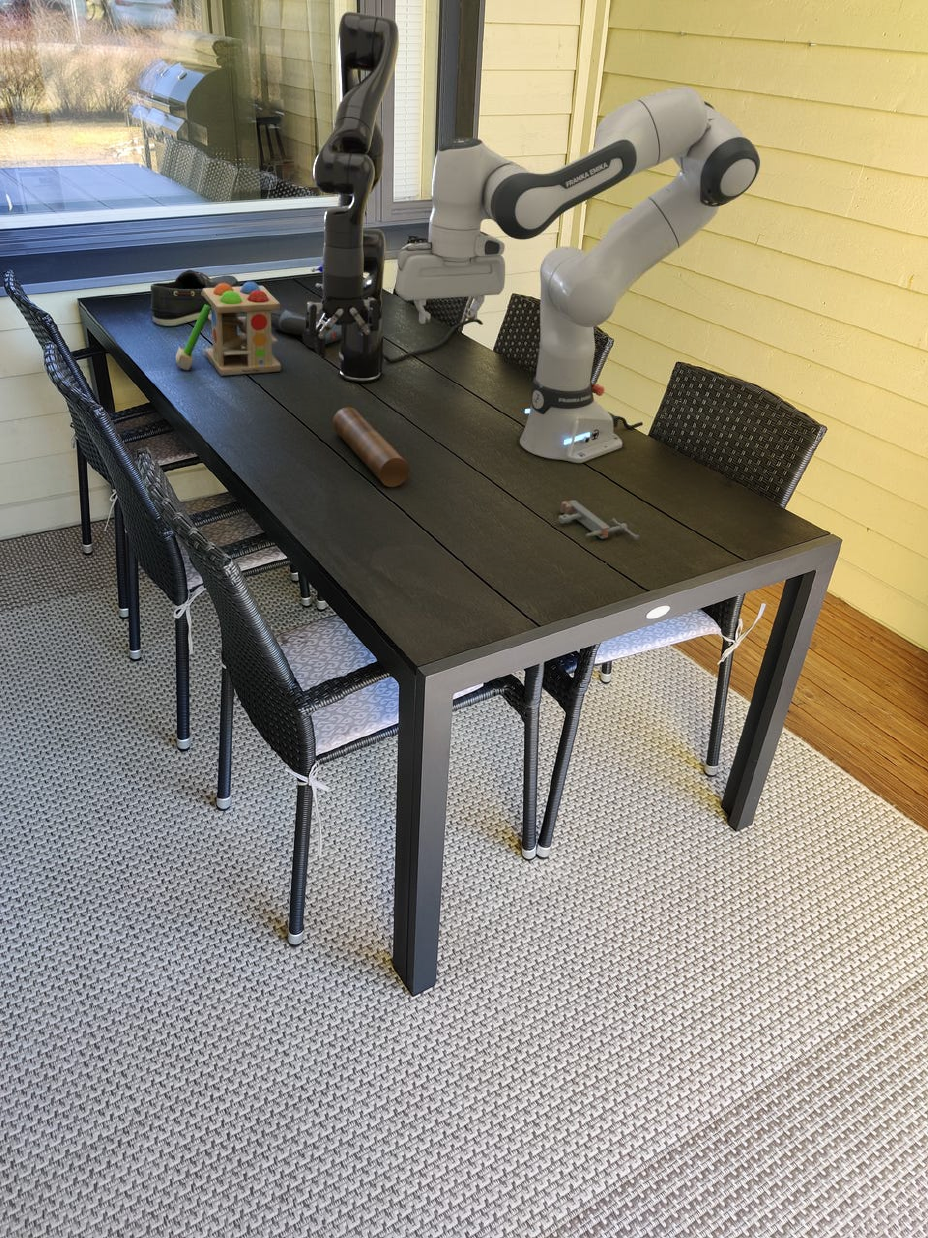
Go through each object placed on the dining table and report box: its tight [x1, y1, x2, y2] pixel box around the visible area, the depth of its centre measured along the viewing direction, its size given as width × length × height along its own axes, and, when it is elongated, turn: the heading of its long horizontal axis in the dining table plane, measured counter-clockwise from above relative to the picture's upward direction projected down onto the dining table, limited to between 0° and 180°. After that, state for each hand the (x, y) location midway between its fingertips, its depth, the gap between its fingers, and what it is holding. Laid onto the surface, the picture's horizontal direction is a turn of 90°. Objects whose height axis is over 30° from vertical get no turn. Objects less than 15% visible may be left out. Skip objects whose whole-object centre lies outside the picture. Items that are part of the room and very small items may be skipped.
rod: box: [332, 406, 410, 488], centre depth 193 cm, size 25×6×6 cm, turn 27°
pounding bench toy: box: [174, 281, 282, 377], centre depth 225 cm, size 23×14×18 cm, turn 116°
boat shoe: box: [149, 269, 241, 327], centre depth 259 cm, size 13×33×10 cm, turn 147°
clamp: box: [558, 499, 640, 541], centre depth 178 cm, size 15×2×10 cm
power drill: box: [271, 308, 341, 349], centre depth 252 cm, size 5×19×20 cm
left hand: (342, 354), depth 191 cm, fingers open, 8 cm apart
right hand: (447, 321), depth 177 cm, fingers open, 8 cm apart
